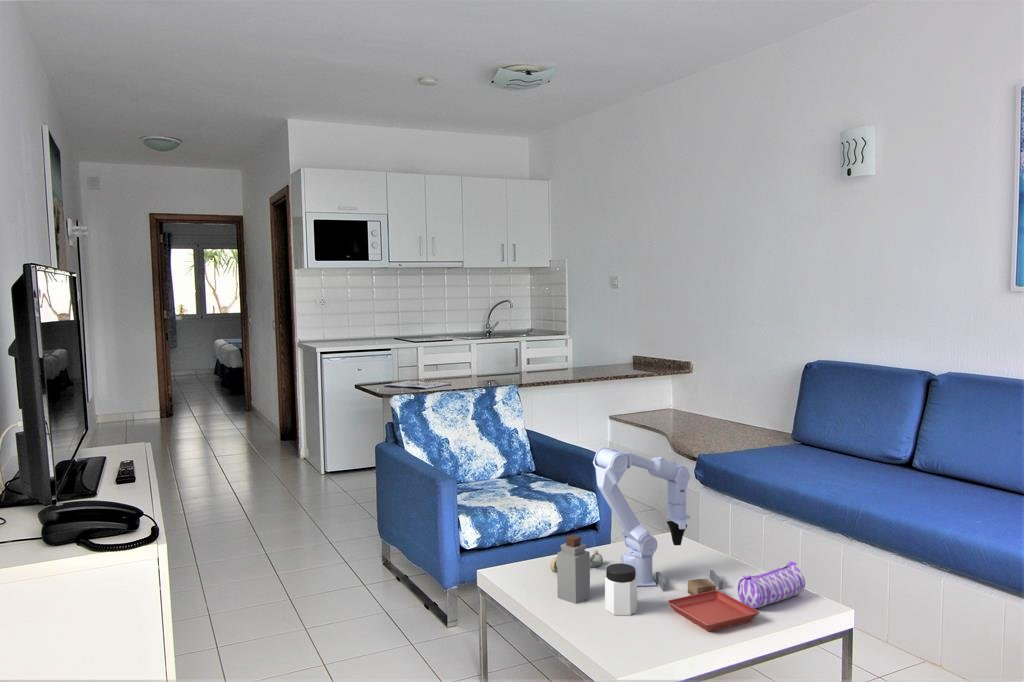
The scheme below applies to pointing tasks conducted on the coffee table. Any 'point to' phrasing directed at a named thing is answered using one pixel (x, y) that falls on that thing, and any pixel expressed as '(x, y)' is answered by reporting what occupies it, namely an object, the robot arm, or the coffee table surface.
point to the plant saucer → (713, 610)
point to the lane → (713, 577)
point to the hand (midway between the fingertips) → (676, 544)
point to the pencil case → (771, 586)
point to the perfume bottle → (573, 570)
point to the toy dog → (594, 561)
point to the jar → (620, 589)
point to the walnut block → (700, 586)
